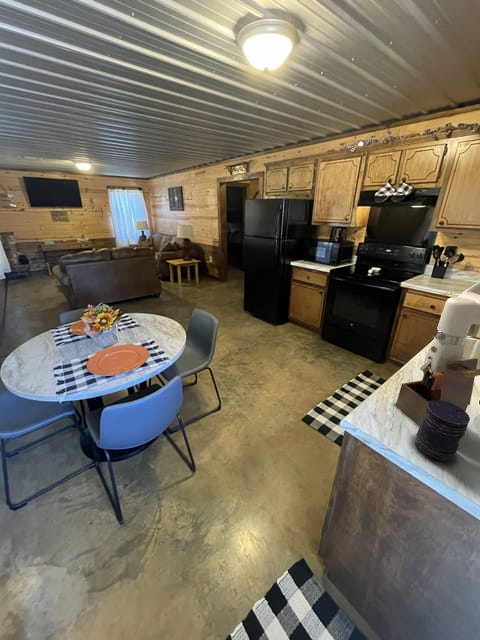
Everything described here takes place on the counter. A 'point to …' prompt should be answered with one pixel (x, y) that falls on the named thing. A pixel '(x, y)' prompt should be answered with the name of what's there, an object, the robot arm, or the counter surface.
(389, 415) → the counter surface
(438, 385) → the block
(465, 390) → the lid
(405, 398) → the chest
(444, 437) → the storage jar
